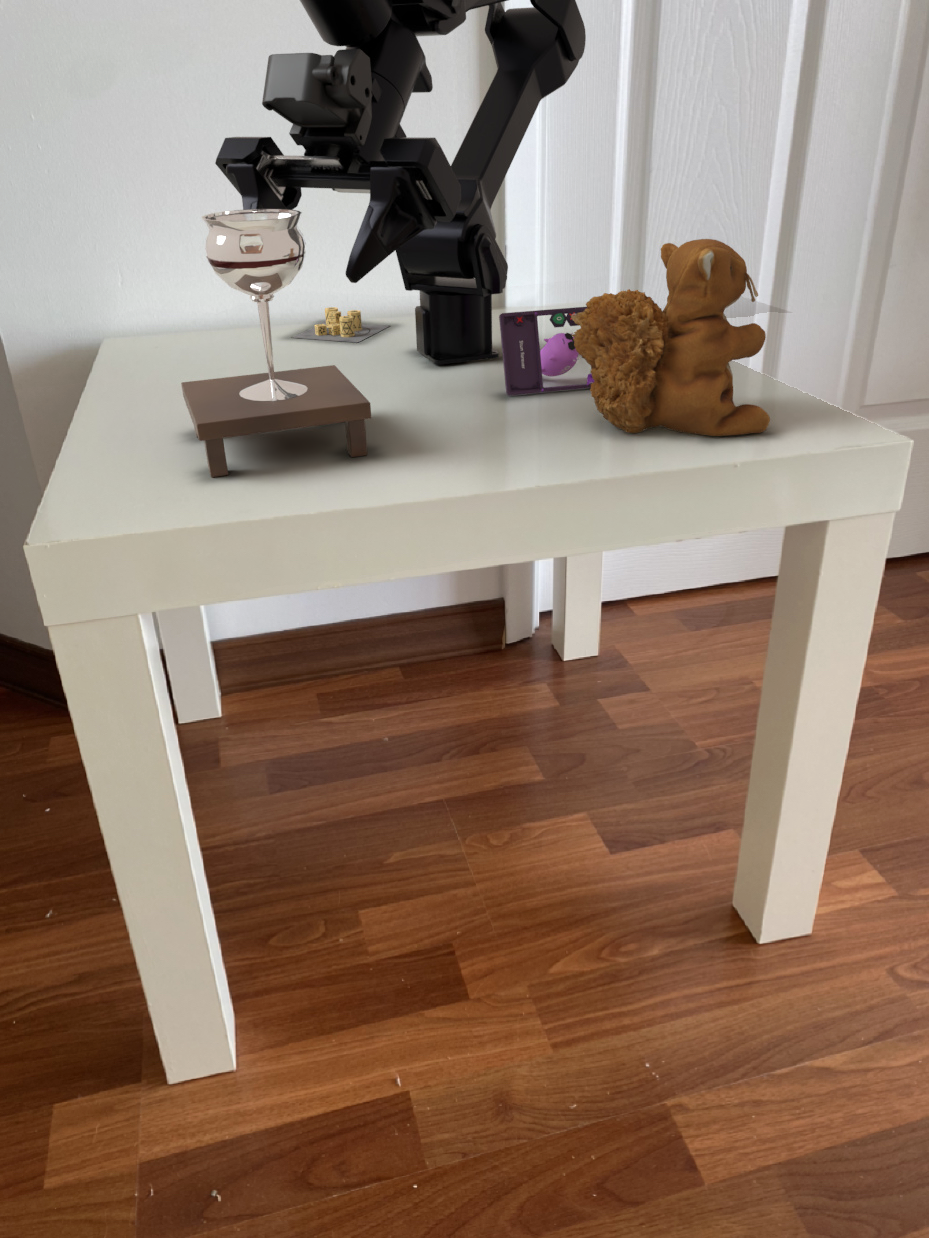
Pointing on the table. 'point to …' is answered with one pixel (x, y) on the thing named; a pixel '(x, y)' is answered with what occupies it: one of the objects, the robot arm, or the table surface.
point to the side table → (274, 409)
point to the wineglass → (258, 272)
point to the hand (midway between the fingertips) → (297, 275)
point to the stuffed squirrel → (674, 347)
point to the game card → (537, 351)
